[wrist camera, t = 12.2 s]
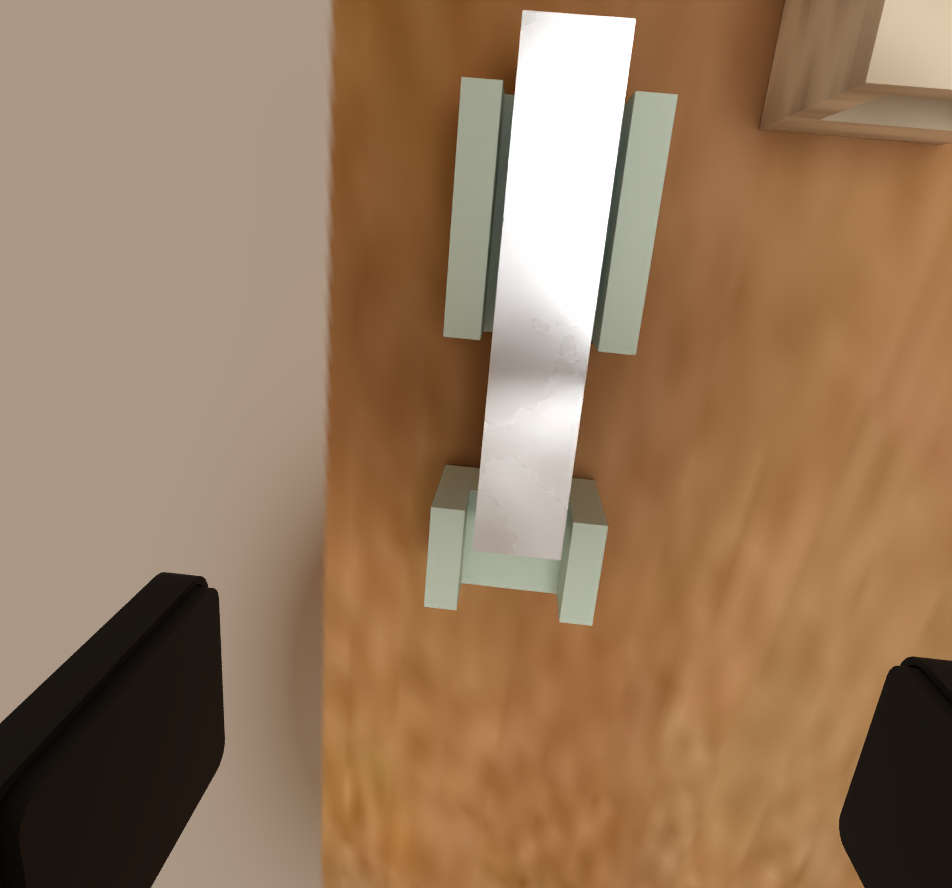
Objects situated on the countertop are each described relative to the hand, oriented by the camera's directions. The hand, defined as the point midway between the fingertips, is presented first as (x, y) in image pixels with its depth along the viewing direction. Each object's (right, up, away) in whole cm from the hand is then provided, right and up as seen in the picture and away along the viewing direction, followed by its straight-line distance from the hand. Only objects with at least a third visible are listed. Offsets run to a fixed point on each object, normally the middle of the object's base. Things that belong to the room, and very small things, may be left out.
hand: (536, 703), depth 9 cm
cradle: (+1, +7, +17) cm, 18 cm away
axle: (+1, +8, +14) cm, 16 cm away
